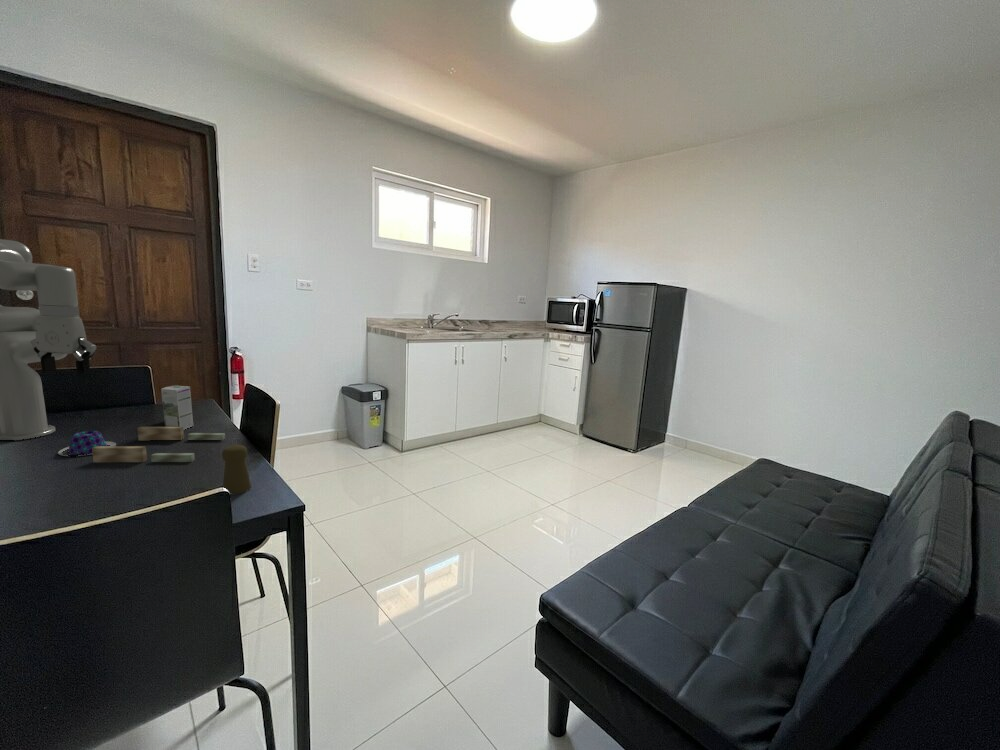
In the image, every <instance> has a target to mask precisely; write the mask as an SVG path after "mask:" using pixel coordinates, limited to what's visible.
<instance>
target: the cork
mask: <svg viewBox="0 0 1000 750" xmlns="http://www.w3.org/2000/svg"><path fill="white" fill-rule="evenodd" d="M221 457H222V460H223V461H224V470H223V472H224V473H223V480H222V481H223V482H222V488H223V487H224V488H226V489H228V490H229V491H230V493H232V494H236V495H241V494H243V492H244V493H247V492H248V491H250V490H251V489H250V488H252V483H251V481H250V480H251V479H250V474H249V471H248V466H247V461H246V458H247V457H248V449H247V447H246V446H244V445H241V444H233V445H228V446H226V447H225V448H224V449H223V450H222V452H221ZM249 489H250V490H249ZM247 490H248V491H247ZM246 491H247V492H246ZM232 494H231V495H230V496H233V495H232Z"/></svg>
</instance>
